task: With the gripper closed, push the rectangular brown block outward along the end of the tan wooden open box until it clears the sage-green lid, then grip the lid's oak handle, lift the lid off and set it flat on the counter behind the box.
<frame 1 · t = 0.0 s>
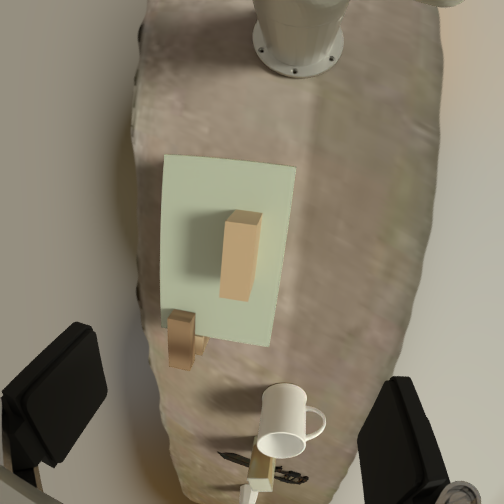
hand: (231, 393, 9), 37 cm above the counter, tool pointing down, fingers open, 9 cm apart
skincare box: (265, 442, 60), on the counter
mug: (292, 397, 55), on the counter
pepper shaker: (249, 487, 69), on the counter
rectangular brown block: (181, 340, 40), point 11 cm above the counter, slide at 0.0 cm
lid: (221, 253, 38), point 8 cm above the counter, touching tan wooden open box
knife: (263, 466, 65), on the counter
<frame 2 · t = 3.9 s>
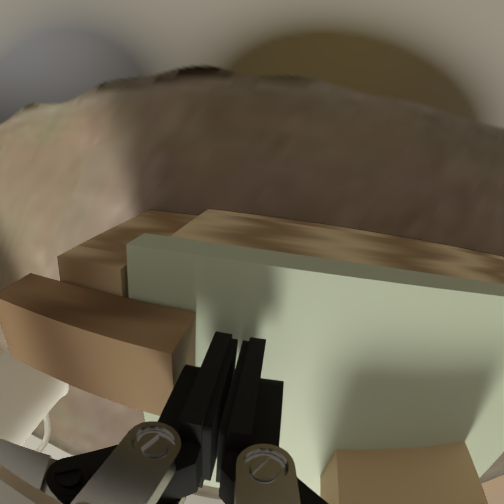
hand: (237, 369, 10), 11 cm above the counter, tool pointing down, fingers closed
mug: (47, 375, 28), on the counter
tan wooden open box: (356, 329, 21), on the counter
rectangular brown block: (87, 339, 10), point 11 cm above the counter, slide at 0.8 cm, touching gripper
lid: (379, 410, 13), point 8 cm above the counter, touching tan wooden open box
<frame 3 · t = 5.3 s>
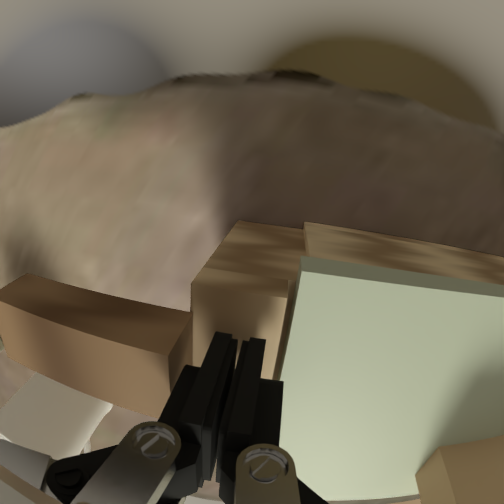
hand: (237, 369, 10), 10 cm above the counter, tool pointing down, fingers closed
mug: (85, 393, 27), on the counter
tan wooden open box: (428, 335, 20), on the counter
rectangular brown block: (83, 340, 10), point 11 cm above the counter, slide at 6.8 cm, touching gripper
lid: (469, 407, 13), point 8 cm above the counter, touching tan wooden open box
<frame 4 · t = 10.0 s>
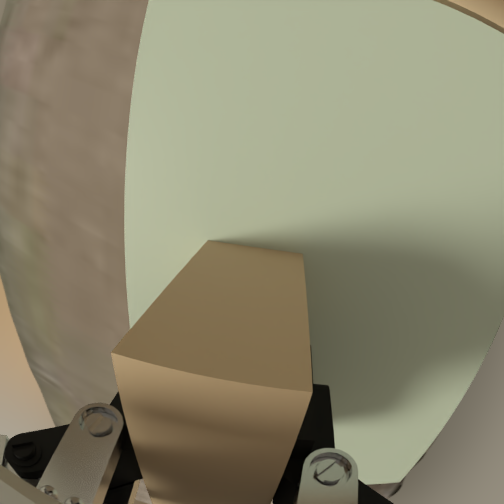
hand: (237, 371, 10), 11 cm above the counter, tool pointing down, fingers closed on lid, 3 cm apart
tan wooden open box: (316, 238, 19), on the counter
lid: (331, 296, 12), point 8 cm above the counter, touching gripper, tan wooden open box
when the fingers open (4 cm above the counter, at t = 17.4 s): lid drops 2 cm, on the counter.
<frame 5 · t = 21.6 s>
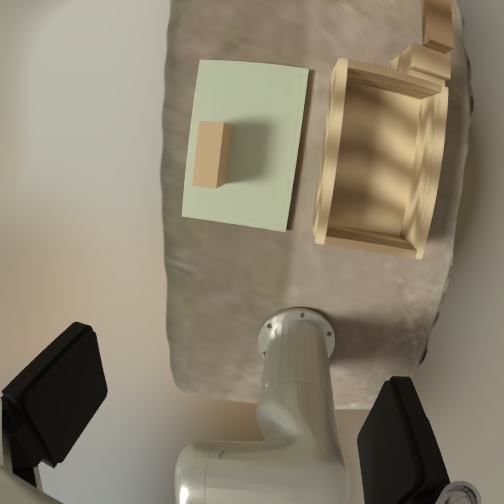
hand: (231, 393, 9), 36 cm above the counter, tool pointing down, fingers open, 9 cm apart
tan wooden open box: (371, 158, 39), on the counter
rectangular brown block: (436, 19, 23), point 11 cm above the counter, slide at 6.8 cm
lid: (243, 142, 42), on the counter
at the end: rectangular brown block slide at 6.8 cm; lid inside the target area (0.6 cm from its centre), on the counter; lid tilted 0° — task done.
